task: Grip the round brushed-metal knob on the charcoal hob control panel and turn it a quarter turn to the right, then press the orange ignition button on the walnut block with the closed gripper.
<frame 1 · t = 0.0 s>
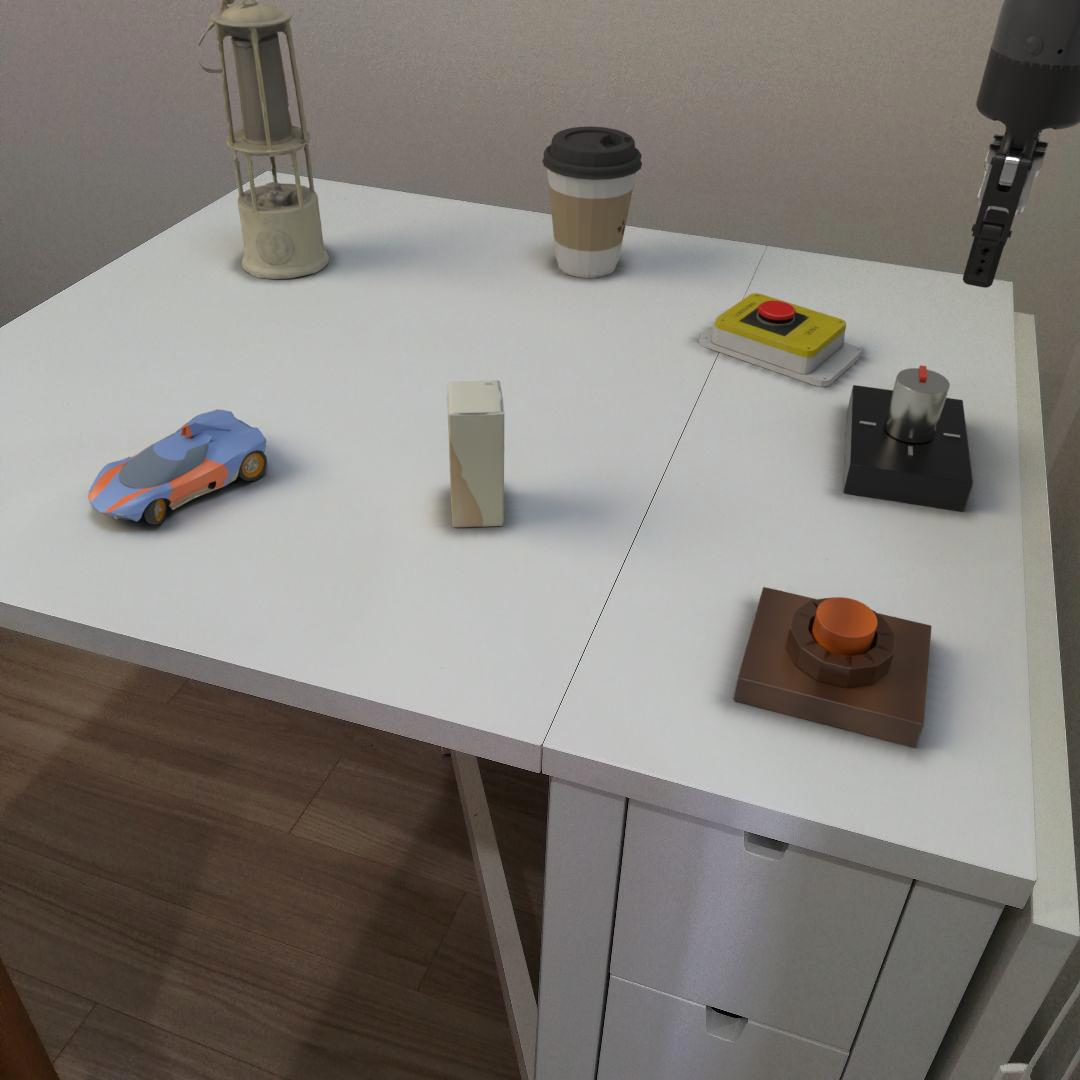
hand: (983, 264, 85), 18 cm above the table, tool pointing down, fingers open, 8 cm apart
box: (477, 512, 88), on the table
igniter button: (844, 626, 71), point 4 cm above the table, slide at 0.1 cm
lamp: (278, 260, 127), on the table
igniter: (831, 673, 74), on the table
coffee cup: (586, 267, 128), on the table
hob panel: (901, 458, 96), on the table
hob knob: (916, 404, 92), point 6 cm above the table, hinge at 0.0°
emergency button: (778, 350, 112), on the table
toy car: (181, 488, 90), on the table
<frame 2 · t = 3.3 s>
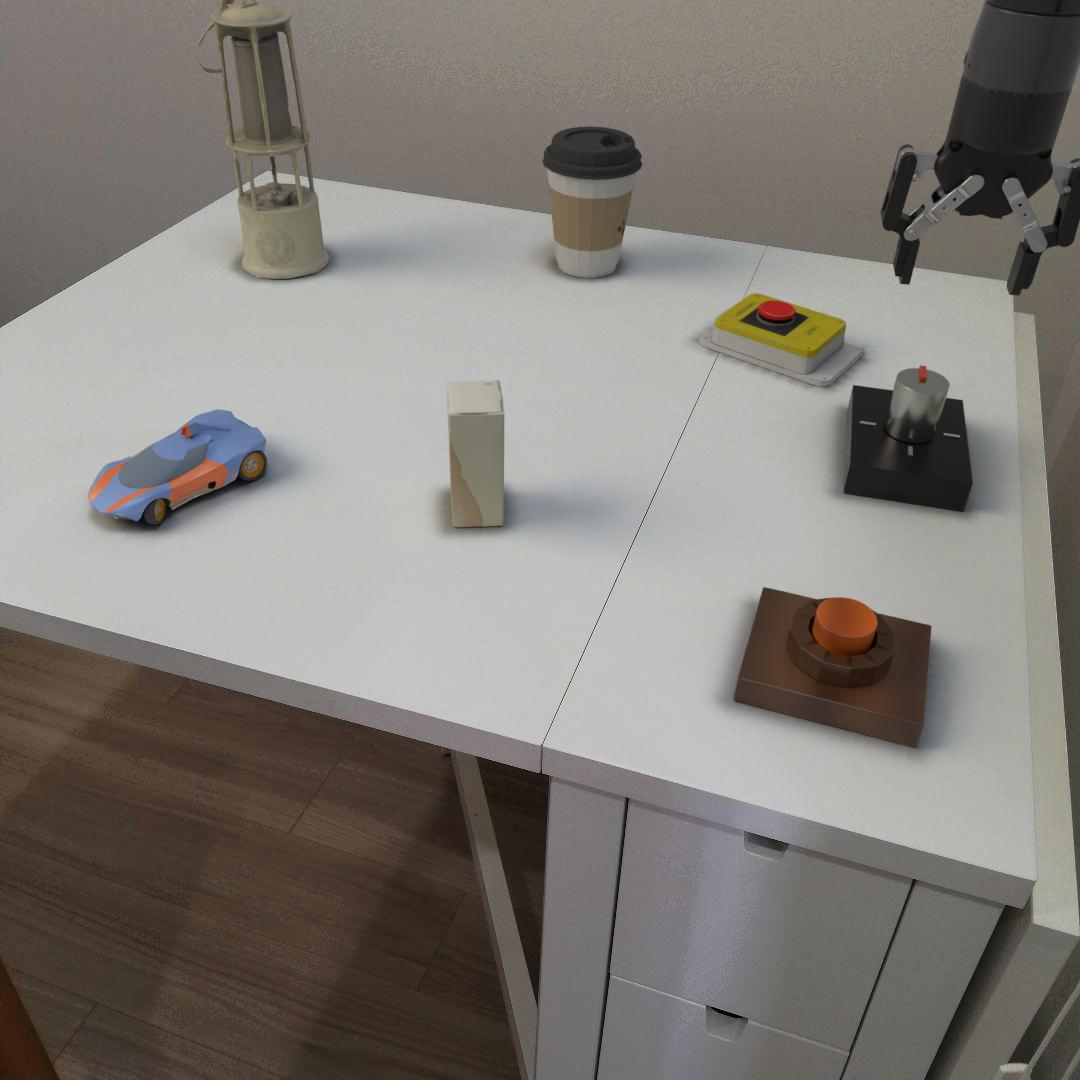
hand: (957, 286, 86), 17 cm above the table, tool pointing down, fingers open, 8 cm apart
nothing on the table moved.
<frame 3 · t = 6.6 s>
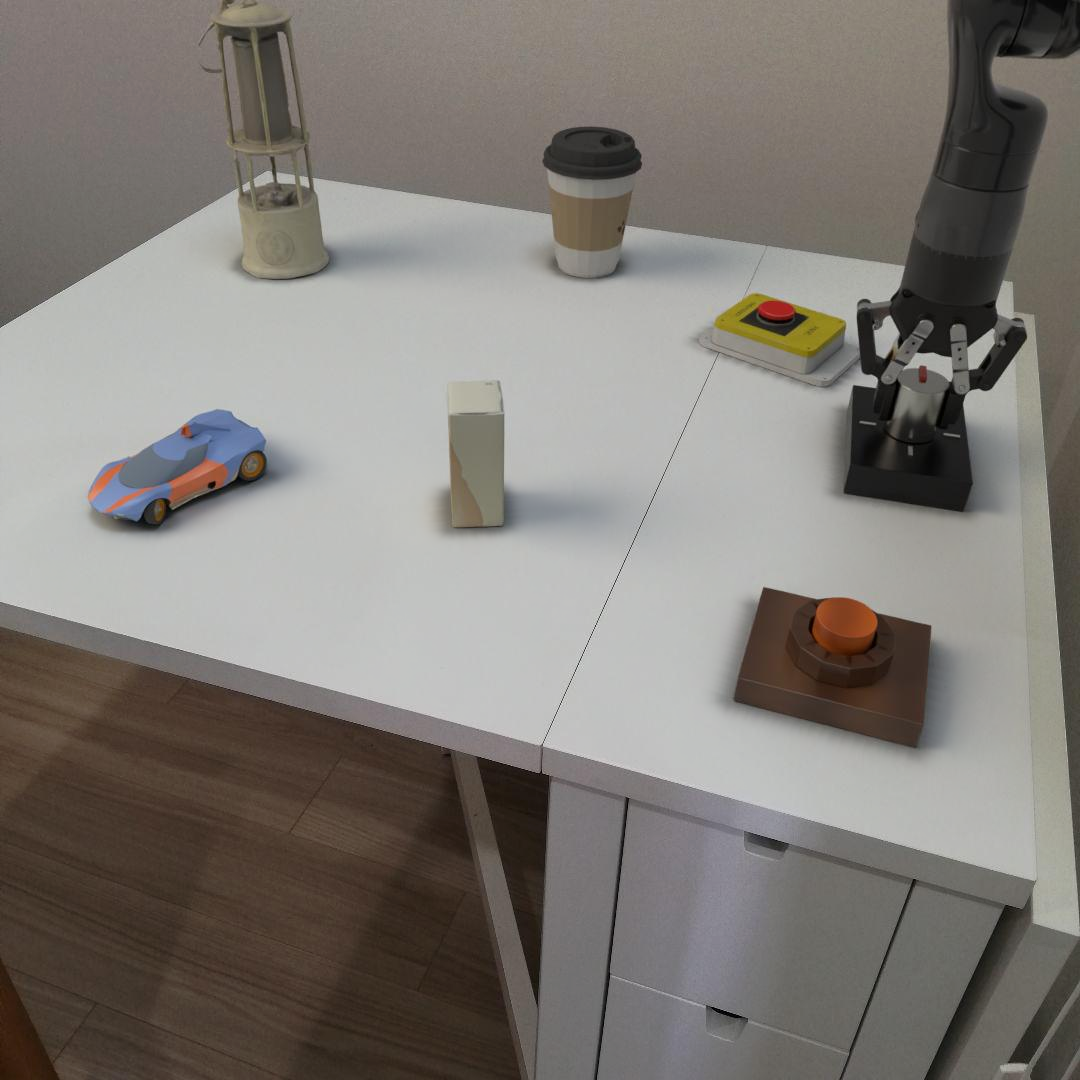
hand: (912, 419, 93), 4 cm above the table, tool pointing down, fingers closed on hob knob, 4 cm apart
hob knob: (916, 404, 92), point 6 cm above the table, hinge at 0.2°, touching gripper
everything else where it was.
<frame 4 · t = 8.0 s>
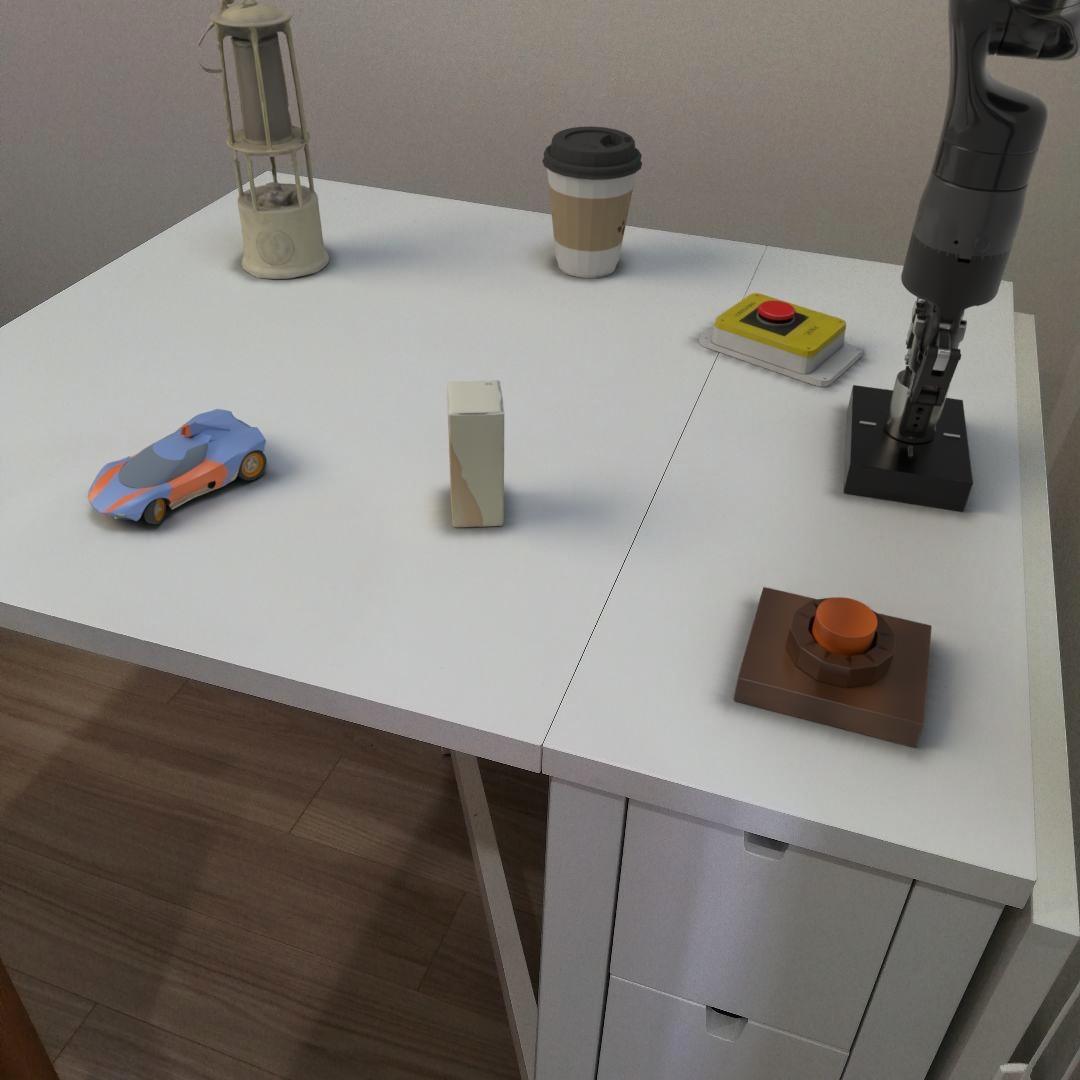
hand: (910, 419, 93), 4 cm above the table, tool pointing down, fingers closed on hob knob, 4 cm apart
hob knob: (916, 404, 92), point 6 cm above the table, hinge at -94.6°, touching gripper
everything else where it was.
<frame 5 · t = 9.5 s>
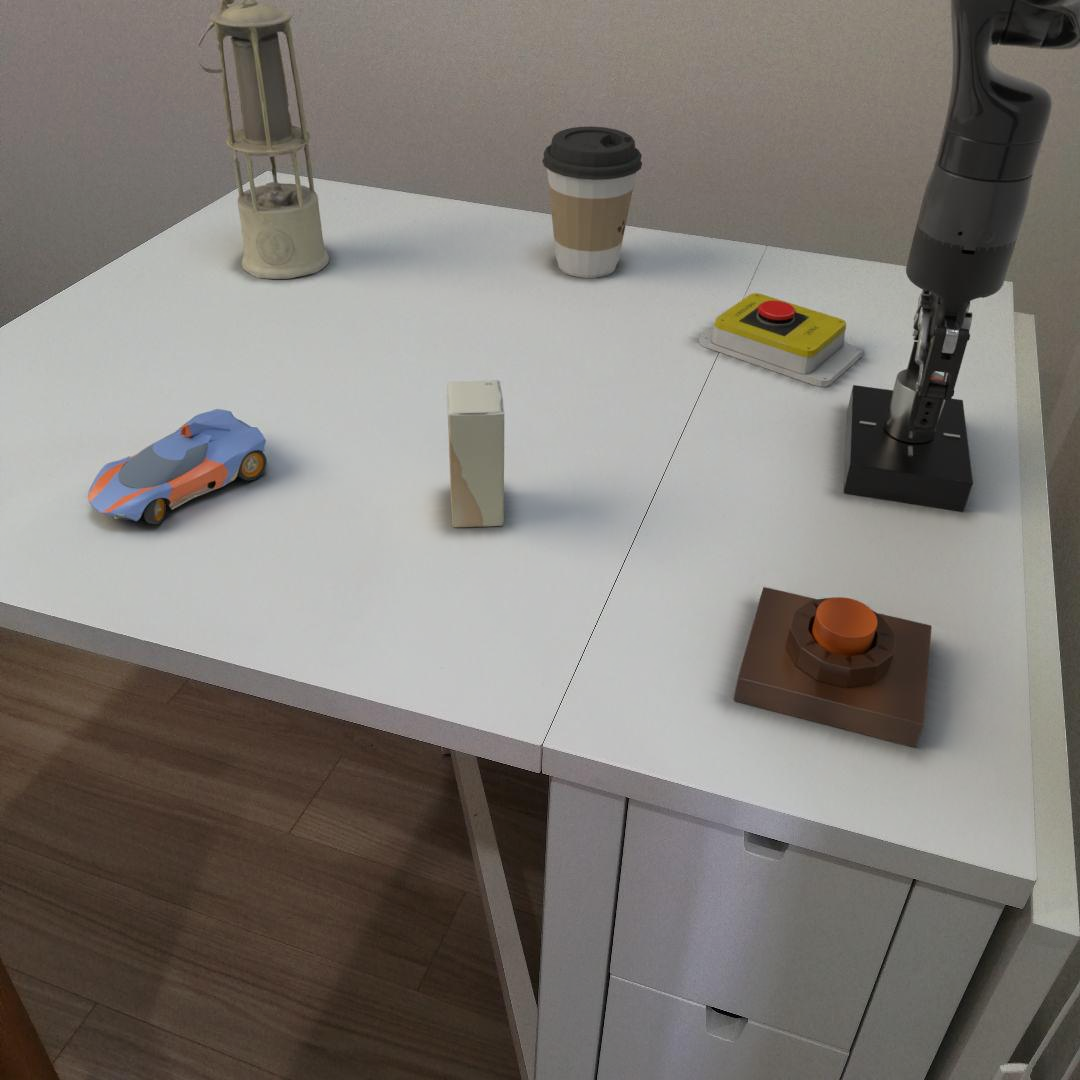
hand: (918, 405, 92), 6 cm above the table, tool pointing down, fingers open, 8 cm apart
hob knob: (916, 404, 92), point 6 cm above the table, hinge at -94.0°
everything else where it was.
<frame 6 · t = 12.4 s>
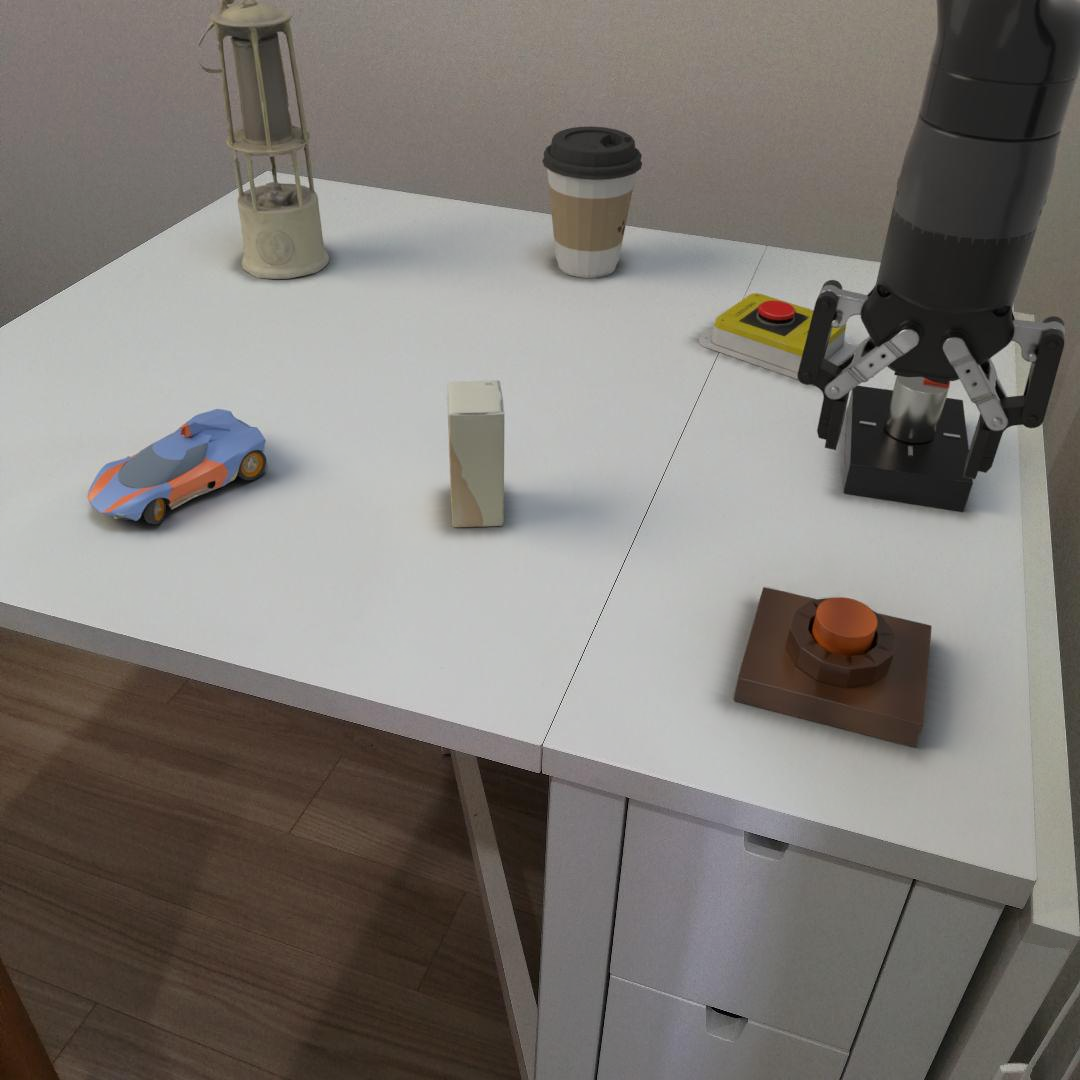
hand: (900, 457, 67), 16 cm above the table, tool pointing down, fingers open, 8 cm apart
nothing on the table moved.
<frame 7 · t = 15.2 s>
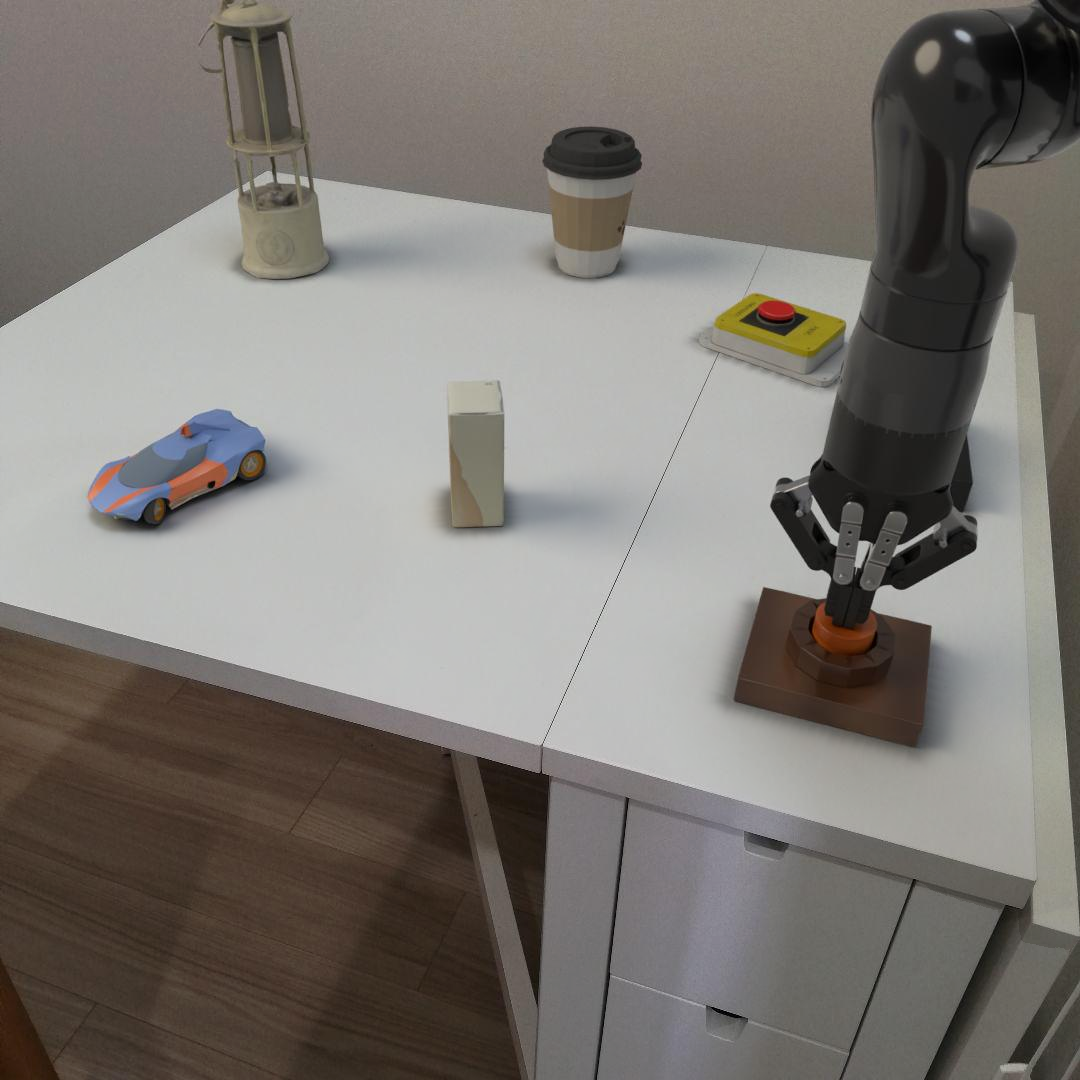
hand: (844, 619, 71), 5 cm above the table, tool pointing down, fingers closed
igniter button: (843, 628, 71), point 4 cm above the table, slide at -0.1 cm, touching gripper
everything else where it was.
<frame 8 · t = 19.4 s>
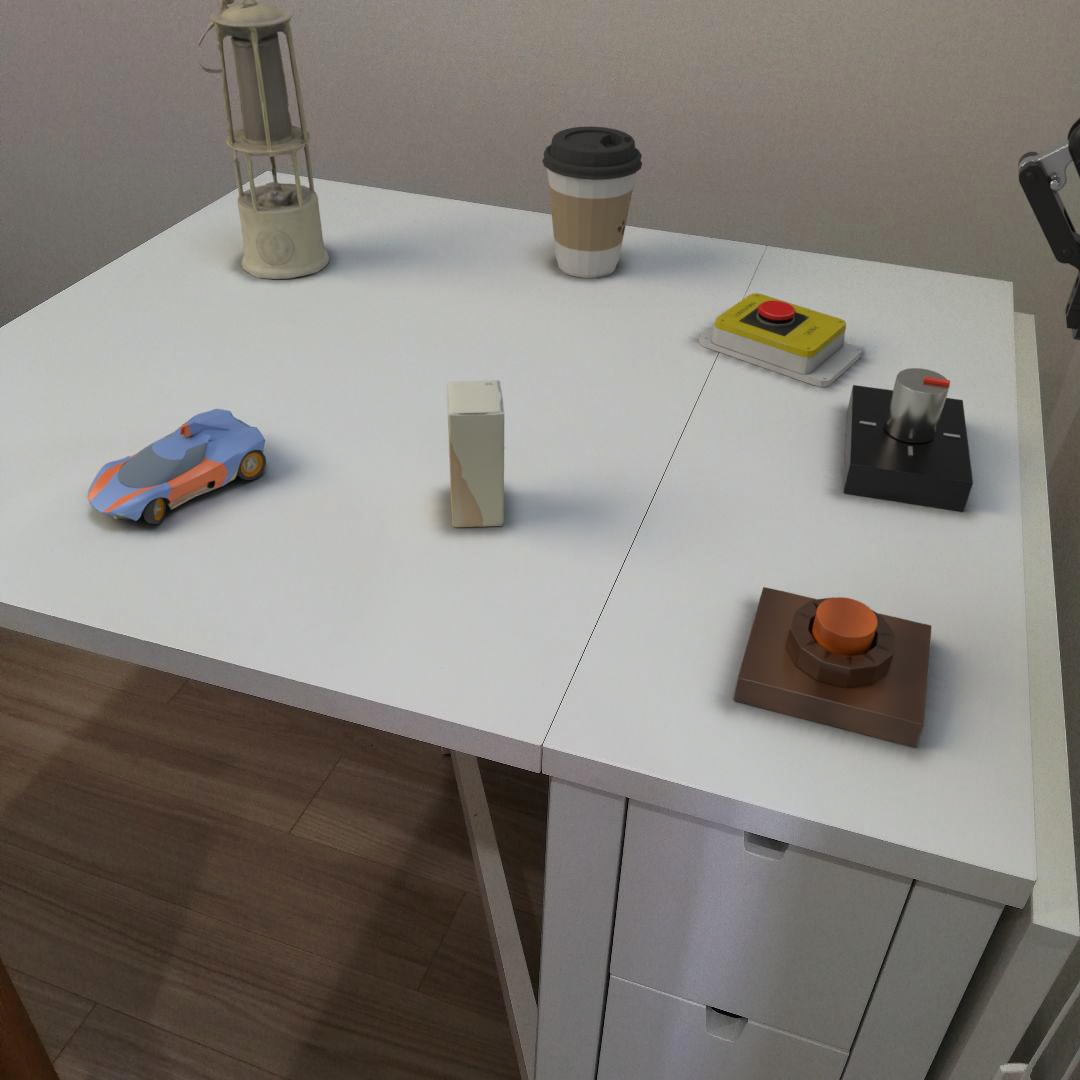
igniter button: (844, 626, 71), point 4 cm above the table, slide at 0.1 cm
everything else where it was.
at the end: hob knob at -94° (first picture: +0°); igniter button pushed in 1.1 cm at the most during the clip, back to where it started at the end; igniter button slide at 0.1 cm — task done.
